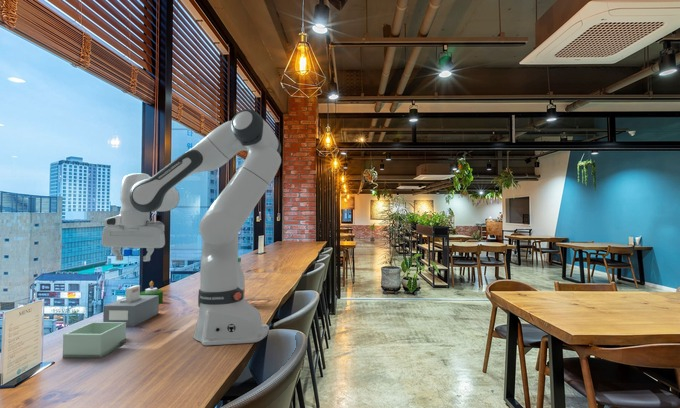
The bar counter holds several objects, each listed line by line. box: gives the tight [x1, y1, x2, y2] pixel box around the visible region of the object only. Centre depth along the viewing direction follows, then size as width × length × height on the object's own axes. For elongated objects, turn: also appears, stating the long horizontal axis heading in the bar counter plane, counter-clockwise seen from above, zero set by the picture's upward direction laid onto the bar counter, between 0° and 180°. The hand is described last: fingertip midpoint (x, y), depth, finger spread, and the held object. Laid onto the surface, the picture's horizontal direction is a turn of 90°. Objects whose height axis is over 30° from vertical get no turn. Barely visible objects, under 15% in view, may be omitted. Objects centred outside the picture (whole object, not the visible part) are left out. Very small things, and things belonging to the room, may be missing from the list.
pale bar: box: [125, 284, 141, 303], centre depth 114 cm, size 2×5×11 cm, turn 179°
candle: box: [140, 280, 164, 305], centre depth 138 cm, size 8×8×10 cm
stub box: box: [62, 321, 127, 359], centre depth 92 cm, size 10×10×6 cm
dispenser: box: [102, 295, 160, 328], centre depth 114 cm, size 10×14×9 cm
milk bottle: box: [238, 256, 246, 300], centre depth 135 cm, size 8×8×20 cm
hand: (133, 260), depth 115 cm, fingers open, 8 cm apart
